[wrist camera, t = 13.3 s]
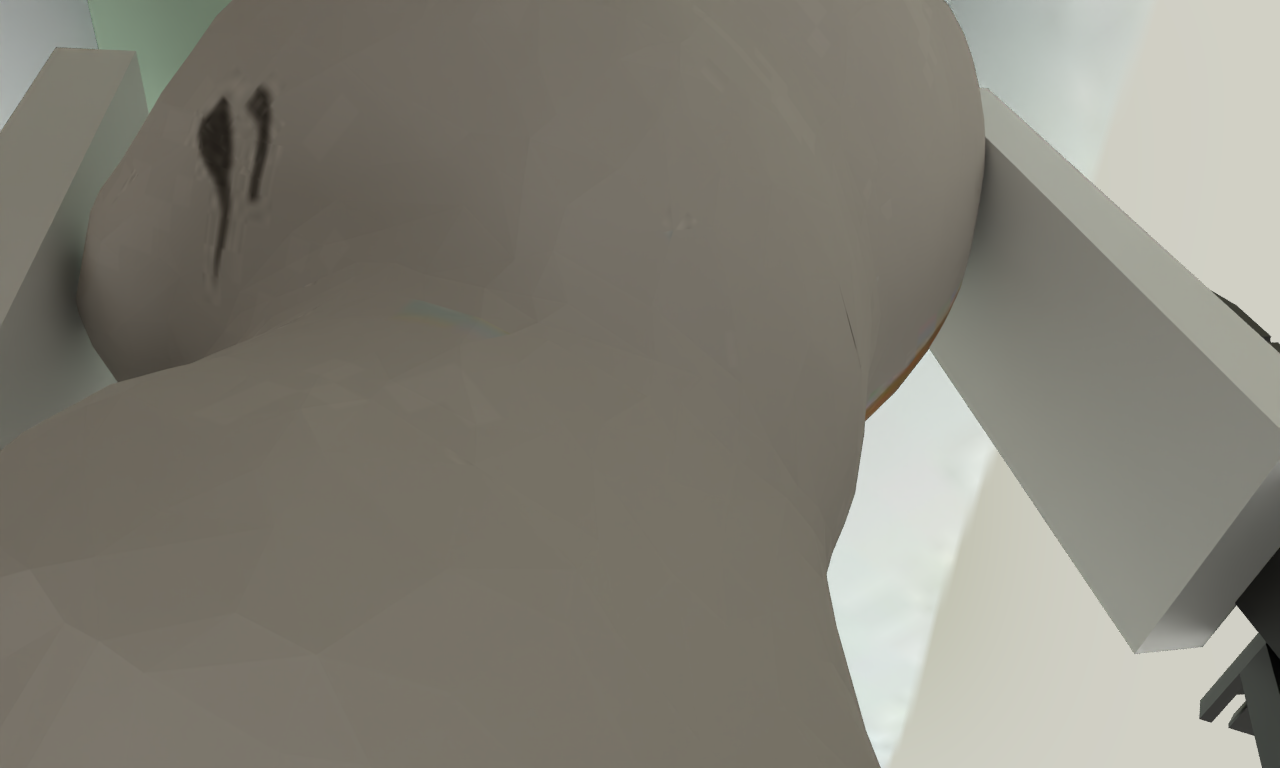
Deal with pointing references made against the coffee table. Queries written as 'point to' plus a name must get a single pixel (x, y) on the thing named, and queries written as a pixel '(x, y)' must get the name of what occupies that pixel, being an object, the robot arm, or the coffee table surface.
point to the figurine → (487, 387)
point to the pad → (153, 34)
